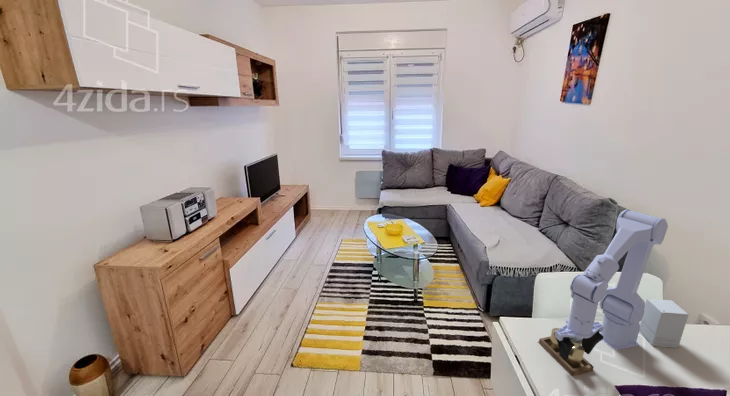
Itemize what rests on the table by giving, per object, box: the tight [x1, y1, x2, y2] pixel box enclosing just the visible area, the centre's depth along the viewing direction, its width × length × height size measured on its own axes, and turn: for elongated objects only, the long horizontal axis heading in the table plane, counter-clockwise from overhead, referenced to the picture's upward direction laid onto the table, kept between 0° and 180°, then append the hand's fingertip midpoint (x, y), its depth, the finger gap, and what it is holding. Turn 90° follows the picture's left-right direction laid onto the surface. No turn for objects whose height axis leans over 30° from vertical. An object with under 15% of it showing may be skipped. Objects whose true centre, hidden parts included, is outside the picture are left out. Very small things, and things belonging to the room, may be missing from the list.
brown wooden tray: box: [537, 335, 595, 377], centre depth 97 cm, size 8×14×2 cm, turn 12°
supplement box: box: [639, 298, 689, 349], centre depth 101 cm, size 7×7×13 cm
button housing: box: [559, 327, 582, 344], centre depth 105 cm, size 6×6×2 cm
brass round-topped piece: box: [549, 327, 560, 352], centre depth 99 cm, size 4×4×6 cm
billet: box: [565, 342, 585, 369], centre depth 93 cm, size 4×4×6 cm
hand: (574, 354), depth 93 cm, fingers open, 7 cm apart
